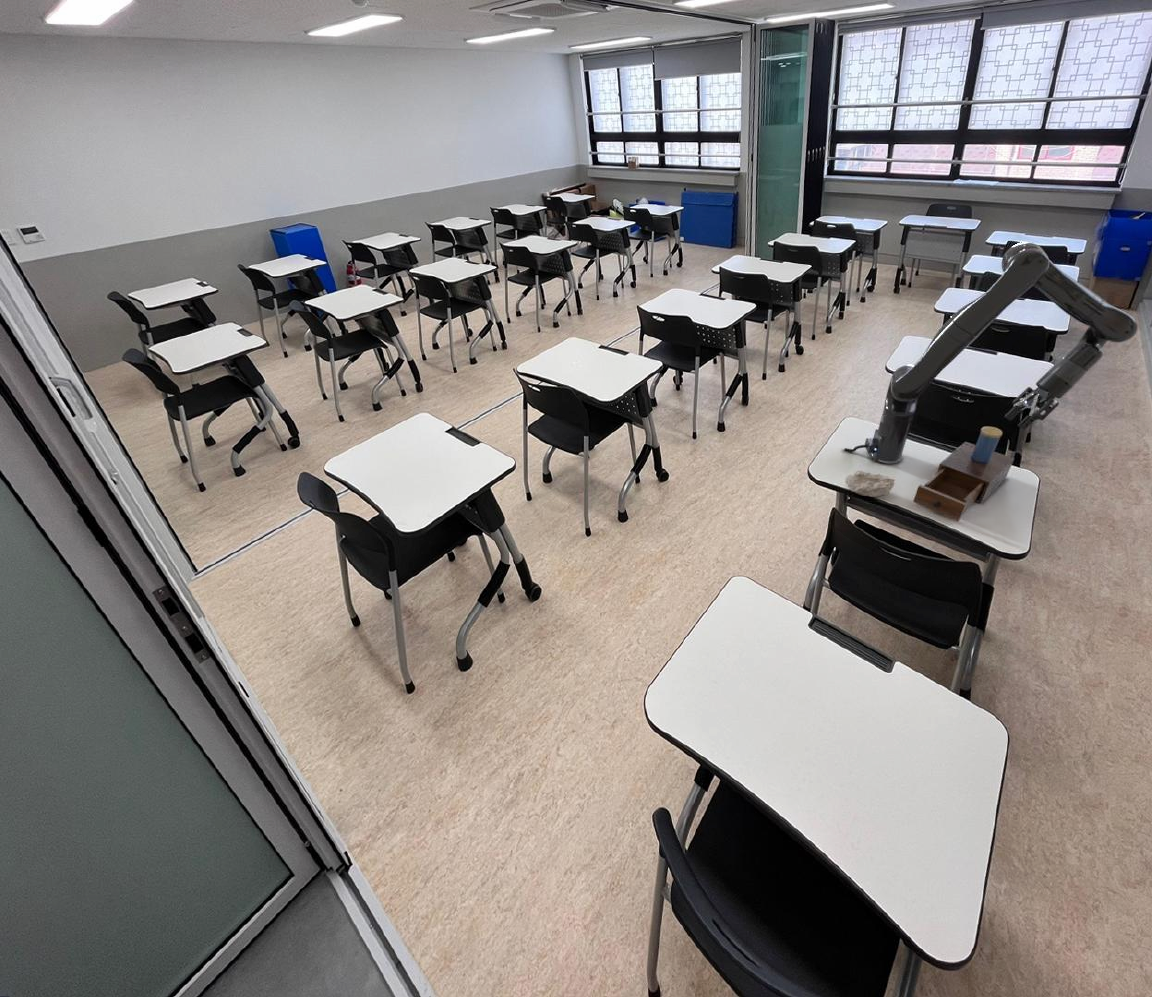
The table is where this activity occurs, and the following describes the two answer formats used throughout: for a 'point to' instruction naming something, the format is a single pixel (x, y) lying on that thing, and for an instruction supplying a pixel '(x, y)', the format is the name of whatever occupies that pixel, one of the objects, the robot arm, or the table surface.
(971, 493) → the drawer
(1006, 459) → the cabinet
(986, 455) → the tin
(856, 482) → the stone
